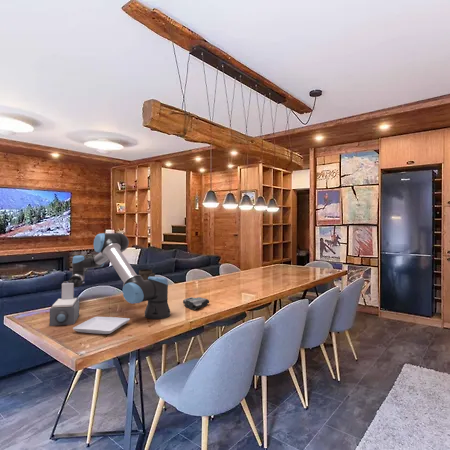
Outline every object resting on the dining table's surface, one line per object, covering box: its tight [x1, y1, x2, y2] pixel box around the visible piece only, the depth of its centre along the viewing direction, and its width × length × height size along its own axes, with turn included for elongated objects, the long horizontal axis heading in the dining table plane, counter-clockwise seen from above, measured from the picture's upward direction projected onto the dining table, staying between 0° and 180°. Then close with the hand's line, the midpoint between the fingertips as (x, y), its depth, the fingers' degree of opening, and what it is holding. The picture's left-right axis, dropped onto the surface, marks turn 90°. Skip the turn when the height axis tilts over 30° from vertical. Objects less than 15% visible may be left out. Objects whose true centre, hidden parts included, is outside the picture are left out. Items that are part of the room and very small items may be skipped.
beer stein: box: [138, 268, 156, 280], centre depth 245 cm, size 15×11×20 cm
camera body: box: [49, 299, 80, 327], centre depth 181 cm, size 20×12×9 cm, turn 16°
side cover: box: [51, 282, 78, 307], centre depth 182 cm, size 16×10×10 cm, turn 16°
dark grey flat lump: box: [182, 296, 210, 311], centre depth 216 cm, size 16×20×5 cm
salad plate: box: [72, 316, 131, 335], centre depth 169 cm, size 21×21×3 cm
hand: (69, 287), depth 194 cm, fingers closed
